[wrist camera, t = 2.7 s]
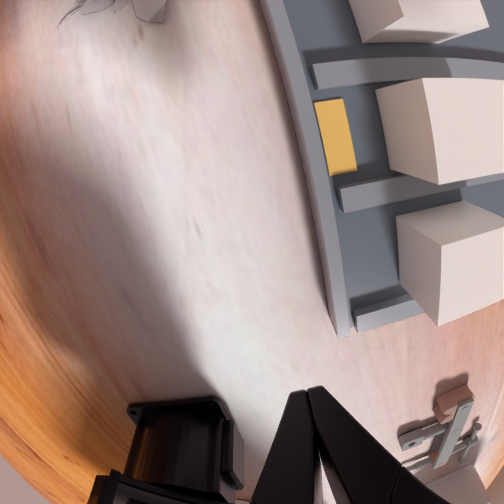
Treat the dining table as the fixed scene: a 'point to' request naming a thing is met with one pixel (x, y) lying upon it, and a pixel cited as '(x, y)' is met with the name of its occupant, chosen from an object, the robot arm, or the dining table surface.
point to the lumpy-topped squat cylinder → (461, 487)
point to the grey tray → (368, 145)
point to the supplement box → (241, 502)
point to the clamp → (445, 429)
